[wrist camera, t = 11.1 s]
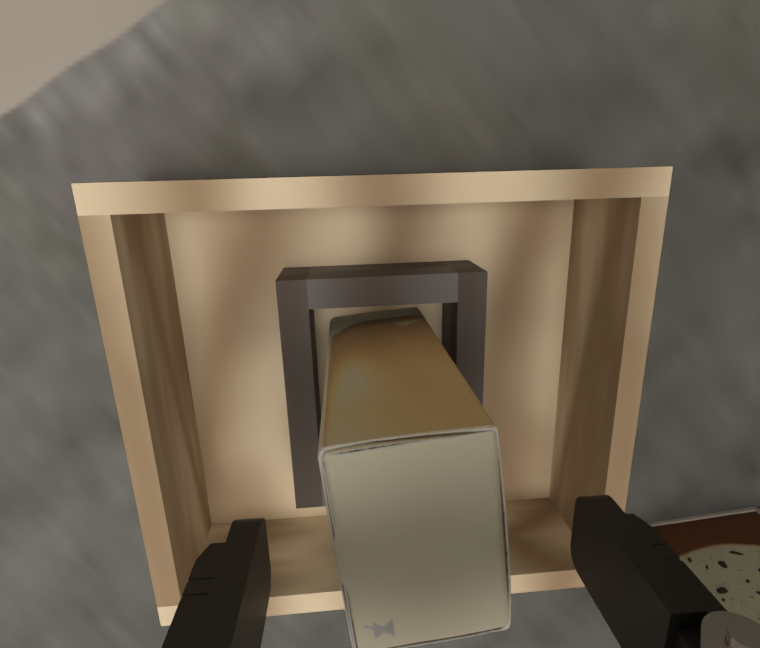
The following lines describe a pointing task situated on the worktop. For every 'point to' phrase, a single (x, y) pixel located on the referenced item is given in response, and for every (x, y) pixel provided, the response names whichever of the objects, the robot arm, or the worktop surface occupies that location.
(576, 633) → the worktop surface
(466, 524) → the skincare box
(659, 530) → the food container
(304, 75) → the worktop surface
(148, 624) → the worktop surface
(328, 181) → the walled box
